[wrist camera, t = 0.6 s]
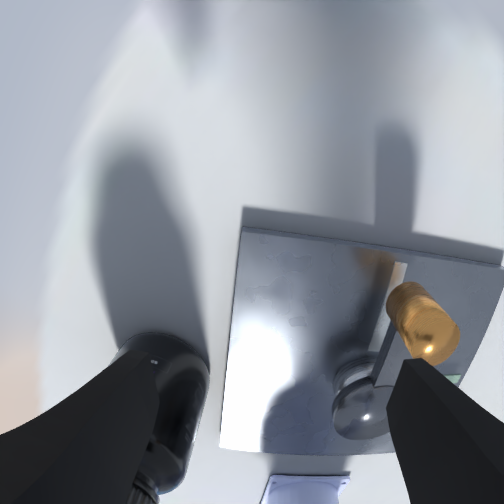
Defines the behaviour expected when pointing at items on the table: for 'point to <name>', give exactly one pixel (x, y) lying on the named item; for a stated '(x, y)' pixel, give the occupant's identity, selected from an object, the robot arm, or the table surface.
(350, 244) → the base
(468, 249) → the table surface
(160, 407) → the supplement bottle
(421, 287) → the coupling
